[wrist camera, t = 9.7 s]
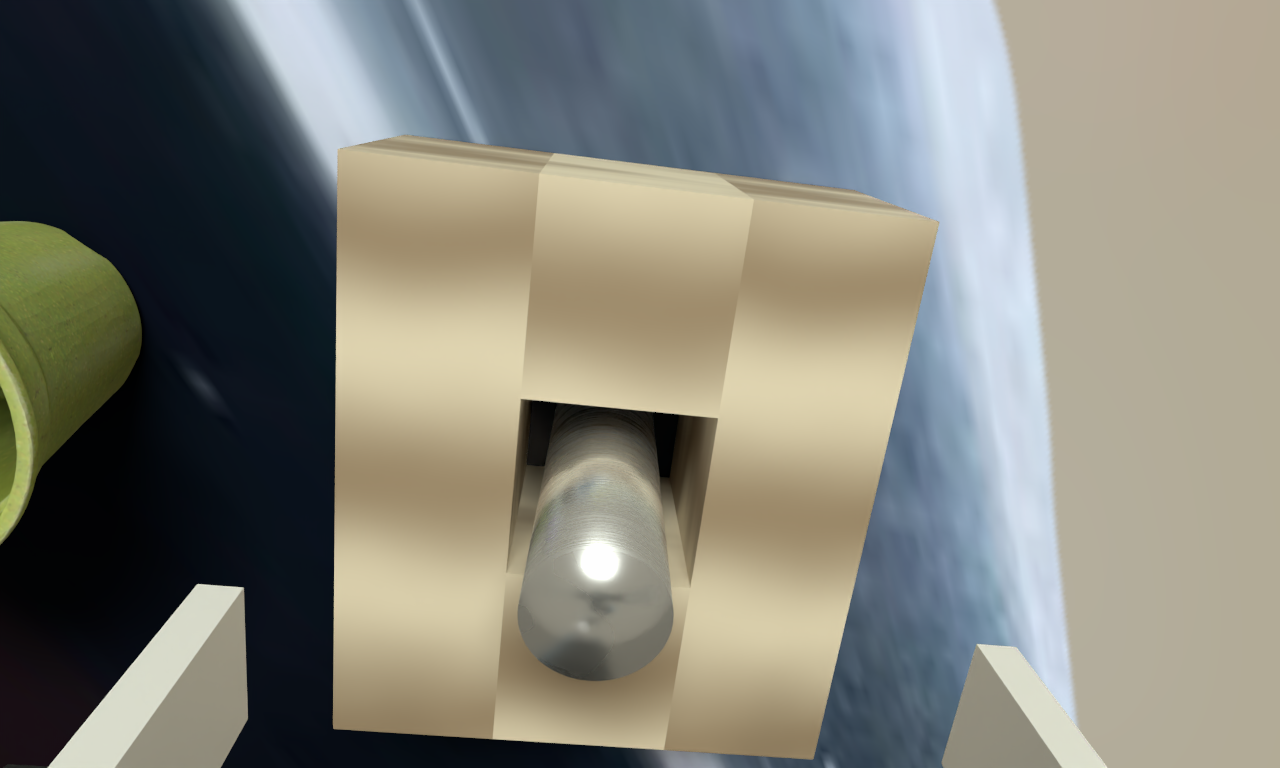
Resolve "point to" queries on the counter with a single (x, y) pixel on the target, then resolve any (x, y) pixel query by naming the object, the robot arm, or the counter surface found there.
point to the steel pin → (598, 548)
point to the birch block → (616, 378)
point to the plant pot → (55, 349)
